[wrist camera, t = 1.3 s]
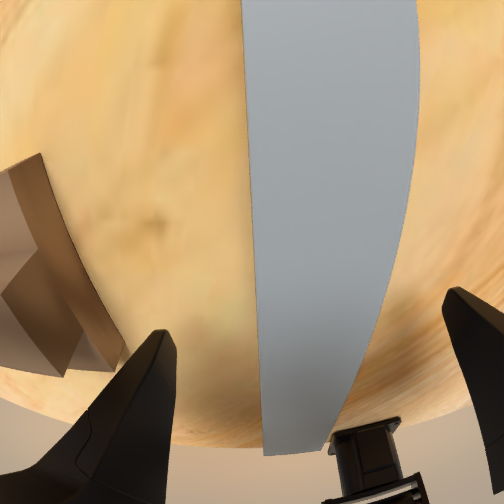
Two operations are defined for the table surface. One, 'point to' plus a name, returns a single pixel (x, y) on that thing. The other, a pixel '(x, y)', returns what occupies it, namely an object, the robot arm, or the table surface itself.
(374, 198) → the slate stick
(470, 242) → the table surface
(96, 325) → the ridge block
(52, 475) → the robot arm
